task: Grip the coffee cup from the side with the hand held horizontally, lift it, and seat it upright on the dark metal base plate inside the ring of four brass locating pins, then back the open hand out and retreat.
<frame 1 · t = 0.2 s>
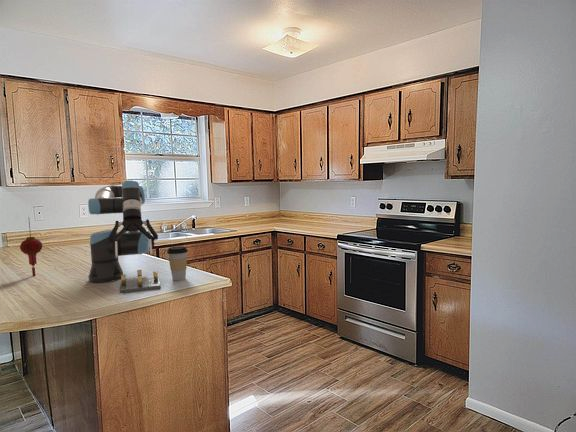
hand: (134, 255, 160), 15 cm above the worktop, tool tilted 35°, fingers open, 13 cm apart
pin plate: (140, 285, 169), on the worktop
coffee cup: (179, 279, 178), on the worktop
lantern: (34, 276, 193), on the worktop
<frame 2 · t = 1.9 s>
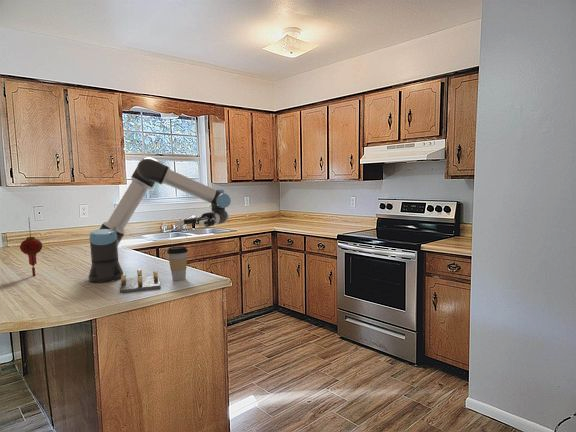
hand: (187, 223, 185), 25 cm above the worktop, tool horizontal, fingers open, 13 cm apart
nothing on the worktop moved.
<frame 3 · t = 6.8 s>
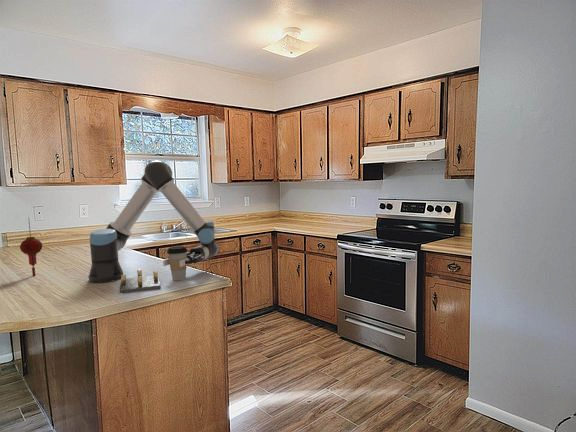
hand: (172, 263, 173), 9 cm above the worktop, tool horizontal, fingers closed on coffee cup, 8 cm apart
coffee cup: (179, 279, 178), on the worktop, touching gripper
everything else where it was.
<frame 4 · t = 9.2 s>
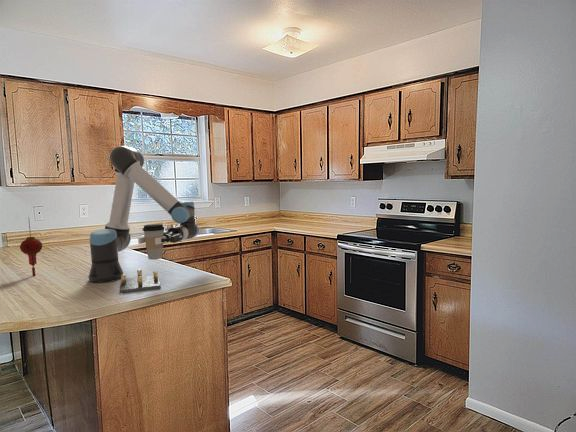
hand: (147, 241, 166), 20 cm above the worktop, tool horizontal, fingers closed on coffee cup, 8 cm apart
coffee cup: (155, 258, 171), point 11 cm above the worktop, touching gripper
everything else where it was.
when the fingers open (11 cm above the worktop, at t = 12.1 s): coffee cup drops 1 cm, resting on pin plate.
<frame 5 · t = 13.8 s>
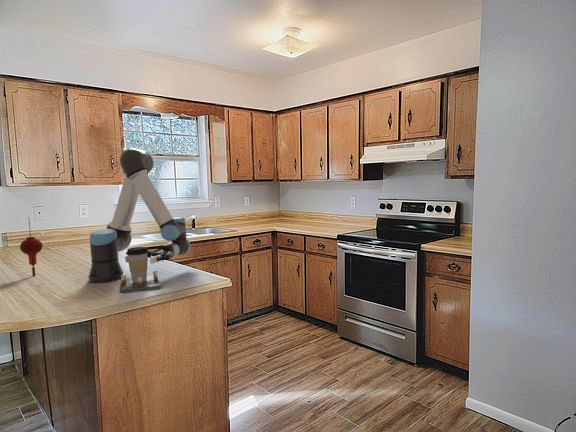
hand: (138, 260, 167), 12 cm above the worktop, tool horizontal, fingers open, 13 cm apart
coffee cup: (139, 281, 170), point 1 cm above the worktop, touching pin plate
everything else where it was.
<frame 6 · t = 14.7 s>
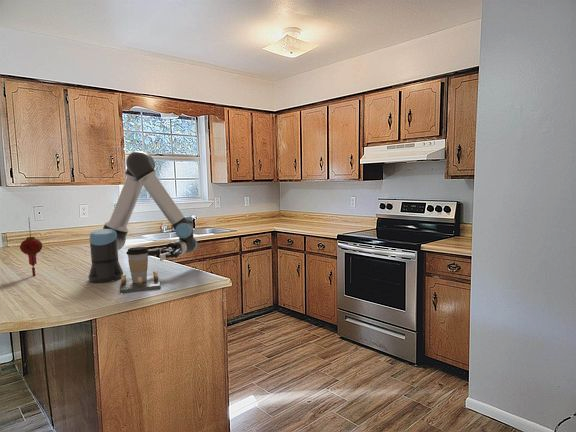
hand: (147, 257, 173), 12 cm above the worktop, tool horizontal, fingers open, 13 cm apart
nothing on the worktop moved.
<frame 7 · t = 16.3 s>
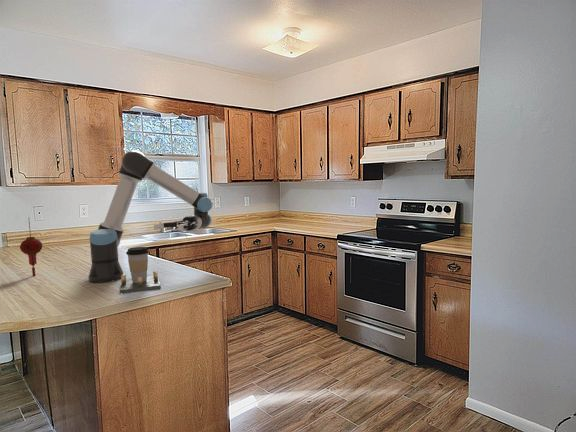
hand: (166, 227, 180), 24 cm above the worktop, tool horizontal, fingers open, 13 cm apart
nothing on the worktop moved.
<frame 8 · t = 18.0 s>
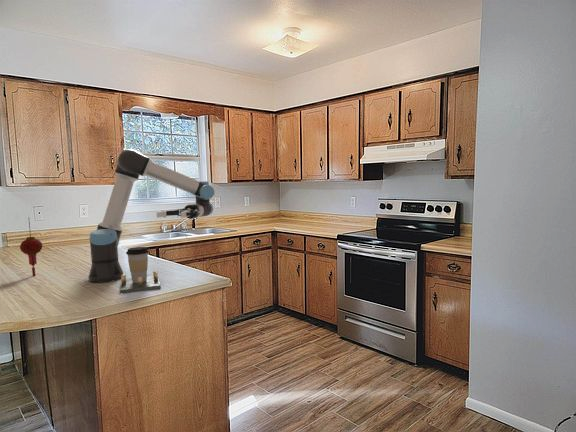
hand: (169, 214, 182), 30 cm above the worktop, tool horizontal, fingers open, 13 cm apart
nothing on the worktop moved.
at the end: coffee cup 1.2 cm off-centre on the pin plate, point 1.3 cm above the pin plate's base; coffee cup tilted 1°; the gripper is holding nothing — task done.
